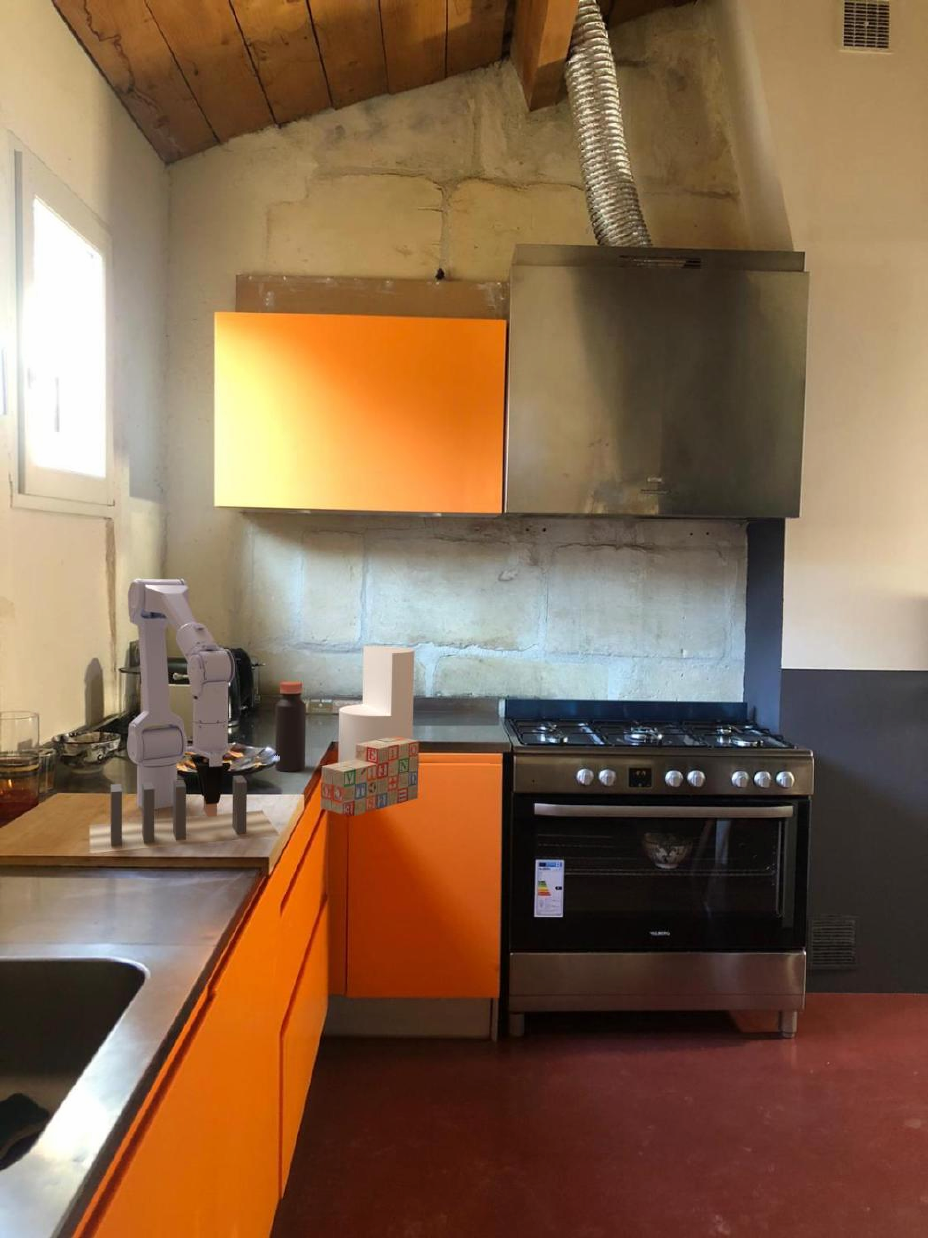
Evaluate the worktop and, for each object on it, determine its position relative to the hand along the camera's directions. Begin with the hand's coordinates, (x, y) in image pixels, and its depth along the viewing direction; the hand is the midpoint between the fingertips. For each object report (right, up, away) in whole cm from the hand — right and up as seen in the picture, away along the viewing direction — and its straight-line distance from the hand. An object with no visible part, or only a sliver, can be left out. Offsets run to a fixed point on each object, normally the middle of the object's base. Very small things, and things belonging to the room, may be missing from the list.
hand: (210, 799), depth 151 cm
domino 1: (-14, -6, -6) cm, 16 cm away
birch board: (-5, -7, +2) cm, 9 cm away
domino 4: (0, -2, 0) cm, 2 cm away
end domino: (+4, -6, +2) cm, 8 cm away
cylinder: (+23, -4, +56) cm, 61 cm away
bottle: (+3, -4, +53) cm, 53 cm away
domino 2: (-9, -6, -4) cm, 12 cm away
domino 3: (-5, -6, -2) cm, 8 cm away
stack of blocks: (+25, -6, +24) cm, 35 cm away
